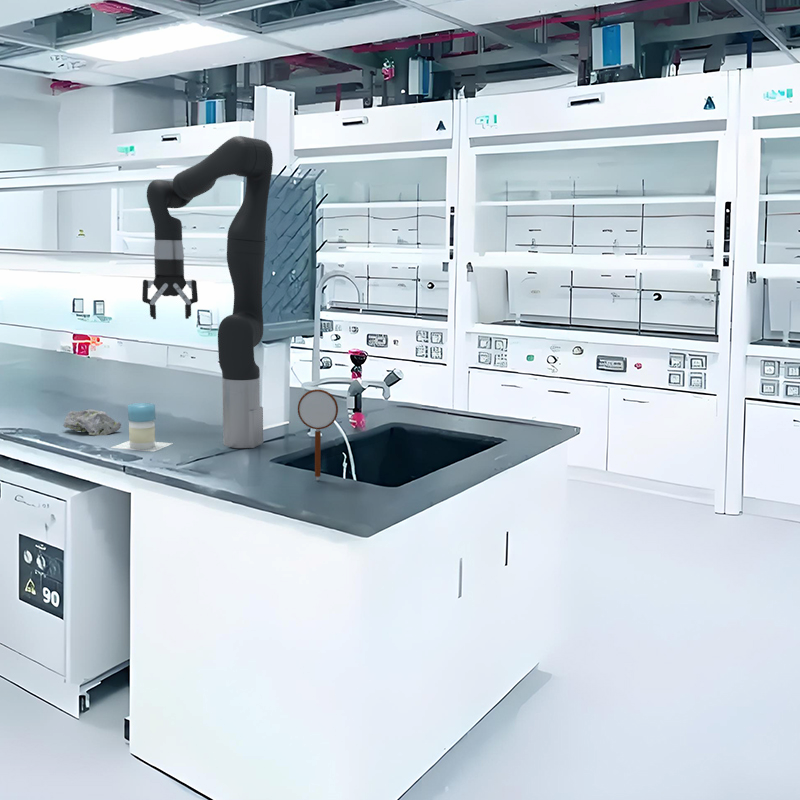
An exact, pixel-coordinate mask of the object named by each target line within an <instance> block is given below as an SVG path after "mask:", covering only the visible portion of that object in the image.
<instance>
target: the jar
mask: <svg viewBox="0 0 800 800" xmlns="http://www.w3.org/2000/svg"><path fill="white" fill-rule="evenodd" d="M128 437H129V440H128V441H130V448H131V449H134V450H133V451H140V450H147V449H152V448H155V442H156V425H155V420H153V421H146V422H133V421H129V420H128Z"/></svg>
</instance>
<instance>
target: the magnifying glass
mask: <svg viewBox="0 0 800 800" xmlns="http://www.w3.org/2000/svg"><path fill="white" fill-rule="evenodd" d="M338 413H339V406H338V402H337V399H336V398H335V397H334V396H333V395H332V394H331V393H330V392H329V391H326V390H323V389H312V390H309V391H306V393H304V394H303V395H302V396H301V398H299V400H298V405H297V415H298V417H299V419H300V422H302V424H304V426H306V427H308V428H310V429H312V430H313V429H314V430H315V431H314V476H315V480H316V481H317V482H318V481H319V480H320V477H321V456H322V455H321V454H322V453H321V443H322V442H321V439H322V438H321V434H322V433H321V430H323V429H327V428H329V427H330V426H332V425H333V424H334V423H335V421H336V419H337V417H338Z"/></svg>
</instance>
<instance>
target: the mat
mask: <svg viewBox="0 0 800 800" xmlns="http://www.w3.org/2000/svg"><path fill="white" fill-rule="evenodd" d="M171 445H174V443H173V442H161V441H155V448H152V449H147V450H139V451H142V452H144V451H145V452H152V453H154V452H156V451H159V450H162V449H163V448H166V447H169V446H171ZM110 449H119V450H128V451H129V450H131V451H135V450H134V449H131V448H130V441H129V440H127V441H124V442H122V443H120V444H117V445H113V446H111V447H110Z"/></svg>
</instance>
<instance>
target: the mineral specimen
mask: <svg viewBox="0 0 800 800" xmlns="http://www.w3.org/2000/svg"><path fill="white" fill-rule="evenodd" d="M121 426H122V423H121V422H120V421H115V420H114V419H113V418H112V417H111V416H109V415H108V414H107V412H106V411H101V410H100V411H99V410H96V409H92V408H89V409H87V410H86V409H85V410H80V411H75V410H71V411H69V412H68V413H67V415H66V417H65V418H64V423H63V427H64V428H66V429H67V428H68V429H69V430H71V431H74V432H77V431H81V432H80V433H86V432H88V435H89V436H94V437H95V436H96V437H98V436H106V435H110V434H114V433H115V432H117V431H118V430H120V429H121Z"/></svg>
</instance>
